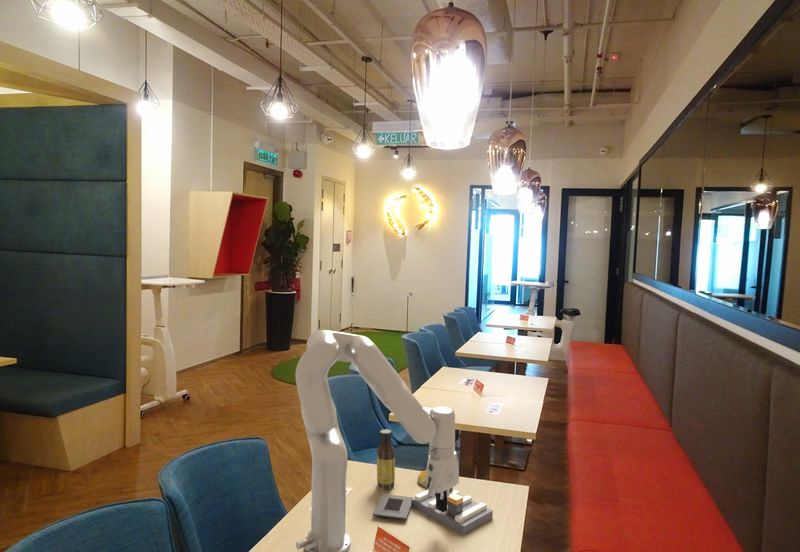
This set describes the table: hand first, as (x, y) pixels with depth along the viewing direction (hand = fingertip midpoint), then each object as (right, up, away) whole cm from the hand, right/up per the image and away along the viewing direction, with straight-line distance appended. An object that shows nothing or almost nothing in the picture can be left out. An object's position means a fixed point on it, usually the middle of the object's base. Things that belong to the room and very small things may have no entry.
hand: (441, 509), depth 157 cm
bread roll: (-2, -5, +32) cm, 32 cm away
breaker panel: (+4, -6, +11) cm, 13 cm away
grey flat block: (-14, -6, +12) cm, 20 cm away
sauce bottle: (-17, -5, +28) cm, 34 cm away
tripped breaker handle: (+4, -4, +5) cm, 8 cm away
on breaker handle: (+3, -3, +18) cm, 19 cm away
